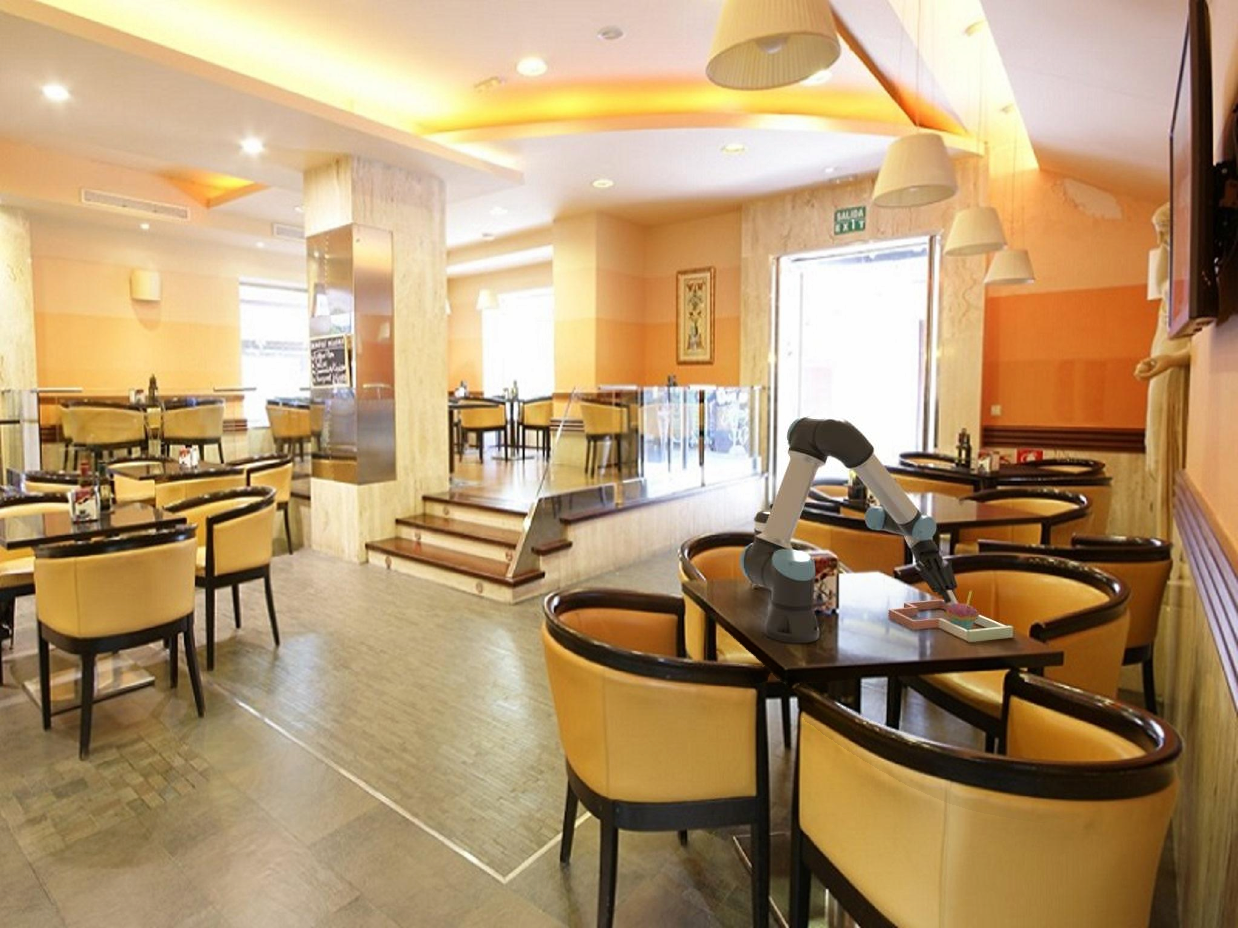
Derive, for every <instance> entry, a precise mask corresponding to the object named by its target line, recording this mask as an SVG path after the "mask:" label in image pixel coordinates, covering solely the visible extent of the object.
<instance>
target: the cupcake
mask: <svg viewBox="0 0 1238 928" xmlns="http://www.w3.org/2000/svg"><path fill="white" fill-rule="evenodd" d="M972 591H973V589H970V591H969V592H968V596H967V599H966V603H959V602H958V603H959V604H958V603H957V604H952V605H950V606H949V607H948V608H947V610H945V612H946V613H945V614H946V615H947V616H948V617H949V618H950V620H951V621H950V622H951V623H953V624H955V625H958V626H960V627H962V628H964V629H966V630H972V627H973V625H974V624H975V623H974V621H975V620H977V619H978V617H979V615H980V612H979V610H977V609H976V608H975V607H974V606H972V605H971V604H970V601H971V598H972V593H973V592H972Z"/></svg>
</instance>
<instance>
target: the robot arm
mask: <svg viewBox="0 0 1238 928" xmlns="http://www.w3.org/2000/svg"><path fill="white" fill-rule="evenodd" d="M786 440H787V445H788V446H789V447H788V450H787V453H788V456H789V462H788V463H787V467H786V469H785V472H784V475H783V478H782V480H781V482H780V486H779V488H778V491H777V494H776V496H775V499H774V501H773V503H772V504H773V507H772V509H771V508H770V510H771V512H770V515H769V517H768V520H767V522H766V525H765V528H764V530H763V532H762V533H761V534H759V535H756V537H755V540H753V542H754V543H753V542H752V543H749V544H748V545H746V546H745V547H744V549H743V550H742V552H741V554H740V557H739V567H740V570H741V572H742V575H744V576H745V578H746V579H748V580H749V581H751V583H752V582H753V584H755V585H756V584H758V585H761V586H760V587H762V586H763V587H762V588H765V589H766V590H769V591H771V604H770V609H769V611H768V615H767V617H766V620H765V622H764V625H763V626H764V634H765V635H766V637H768V638H770V639H772V640H773V641H777V642H780V643H781V642H782V643H788V644H807V643H808V644H809V643H812V642H815V641H817V640H818V639H819V638H820V627H819V625H818V623H819V622H818V621H817V617H816V613H815V611H814V603H815V601H814V598H815V584H816V583H815V582H816V581H815V580H816V566H815V563H816V562H815V560H814V558H813V557H812V556H811V555H810V554H808V553H807V552H804V551H802V550H796V549H793V547H792V544H791V541H792V539H793V536H794V533H795V531H796V528H797V525H798V523H799V520H800V517H801V514H802V512H803V509H804V507H805V504H806V501H807V499H808V496H809V493H810V491H811V488H812V485H813V483H814V480H815V478H816V474H817V471H818V470H819V468H822V467H824V466H825V465H826V462H827V460H828V458H829V457H831V458H834V459H836V460H838V461H839V462H841V464H843V466H844V467H845V468H846V469H849V470H852V471H853V472H854V474H856V477H858V478H859V479H860V481H862V483H863V484H864V486H866V488H867V490H869V492H870V493H871V495H873V497H875V499H876V501H878V503H879V504H880V505H878V506H875V505H874V506H871V507H869V508H867V510H866V511H865V514H864V521H865V524H866V526H867V528H869V529H870V530H873V531H874V530H875V531H886V532H889V533H892V534H897V535H901V536H903V538H904V540H905V541H906V544H907V546H908V547H909V548H910V552H911V553H912V555H913V557H914V559H915V560H916V562H917V563H916V564H914V566H913V570H915V571H916V572H917V573H918V574H919V575H920V576H921V578H922V579H923V580H924V582H925V583H926V585H928V588H929V589H930V590H931V591H932V592H933V593H934V594H936V593H937V596H941V597H942V599H943V600H944V601H945V603H947V604H948V606H950V605H952V604H957V603H958V604H960V602H958V600H959V599H958V597H957V595H956V593H955V590H956V589H957V588H958V583H957V580H956V577H955V575H954V570H953V567H952V563H953V562H952V560H950V559H948V560H945V559H943V556H941V554H940V553H939V548H938V546H937V544H936V542H935V540H933V538H934V537H933V536H934V535H935V534H936V532H937V522H936V520H935V518H933V517H932V516H930V515H927V514H923V513H922V512H921V510H919V509H918V508H917V506H916V505H915V504H914V502H913V501H912V500H911V499H910V497H909V496H908V495H907V493H906V492H905V490H903V488H901V486H900V484H899V483H898V482H897V481H896V480H895V479H894V477H893V476H892V475H891V473H890V472H889V471H888V470H887V468H886V467H885V465H883V463H882V461H880V459H879V458H878V457H877V455H876V454H875V453H874V452H875V447H874V446H873V444H872V443H871V442H870V441H869V440H868V438H867V437H866V436H865V435H864V434H863V432H861V431H860V430H859V429H858V428H857V427H856V426H855V425H854V424H852V423H851V422H849V421H848V420H846V419H844V418H842V417H839V416H824V415H816V414H810V415H802V416H799V417H797V418H796V419H795V420H794V421H793V422H791V424H790V425H789V428H788V429H787V433H786Z"/></svg>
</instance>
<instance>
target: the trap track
mask: <svg viewBox="0 0 1238 928" xmlns="http://www.w3.org/2000/svg"><path fill="white" fill-rule="evenodd" d="M948 607H949V606H948V604H947V603H945V601H944V599H943V598H942V599H935V600H934V599H933V600H923V601H911V602H903V608H891V609H890V608H889V609H888V615H887V617H888V618H889V619H890V620H893V621H894V622H897V623H898V624H901V625H903V626H904V627H907V628H909V629H911V630H912V631H915V630H922V629H923V630H924V629H932V628H939V629H941V630H944V631H946V632H947V633H949V634H952V635H954V636H956V637H958V638H960V639H963V640H965V641H967V642H969V643H974V642H975V643H976V642H982V641H983V642H984V641H991V640H1000V639H1001V640H1002V639H1008V638H1009V639H1010V638H1013V637H1014V636H1013V633H1014V626H1012V625H1005V624H1003V623H1000V622H998V621H995V620H993V619H991V618H988V617H986V616H984V615H981V614H979V617H978V619H977V620H975V621H974V623H973V624H976V625H979V626H982V627H984V628H973V629H970V630H966V629H964V628H962V627H960V626H958V625H955V624H953V623H952V621H948V620H946V619H944V618H942V617H937V618H927V619H916V620H914V618H913V619H912V618H911V617H914V616H915V615H916V616H918V614H919V613H918V611H920V610H931V609H932V610H933V609H942V610H944V611H946V610H947V608H948Z"/></svg>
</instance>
